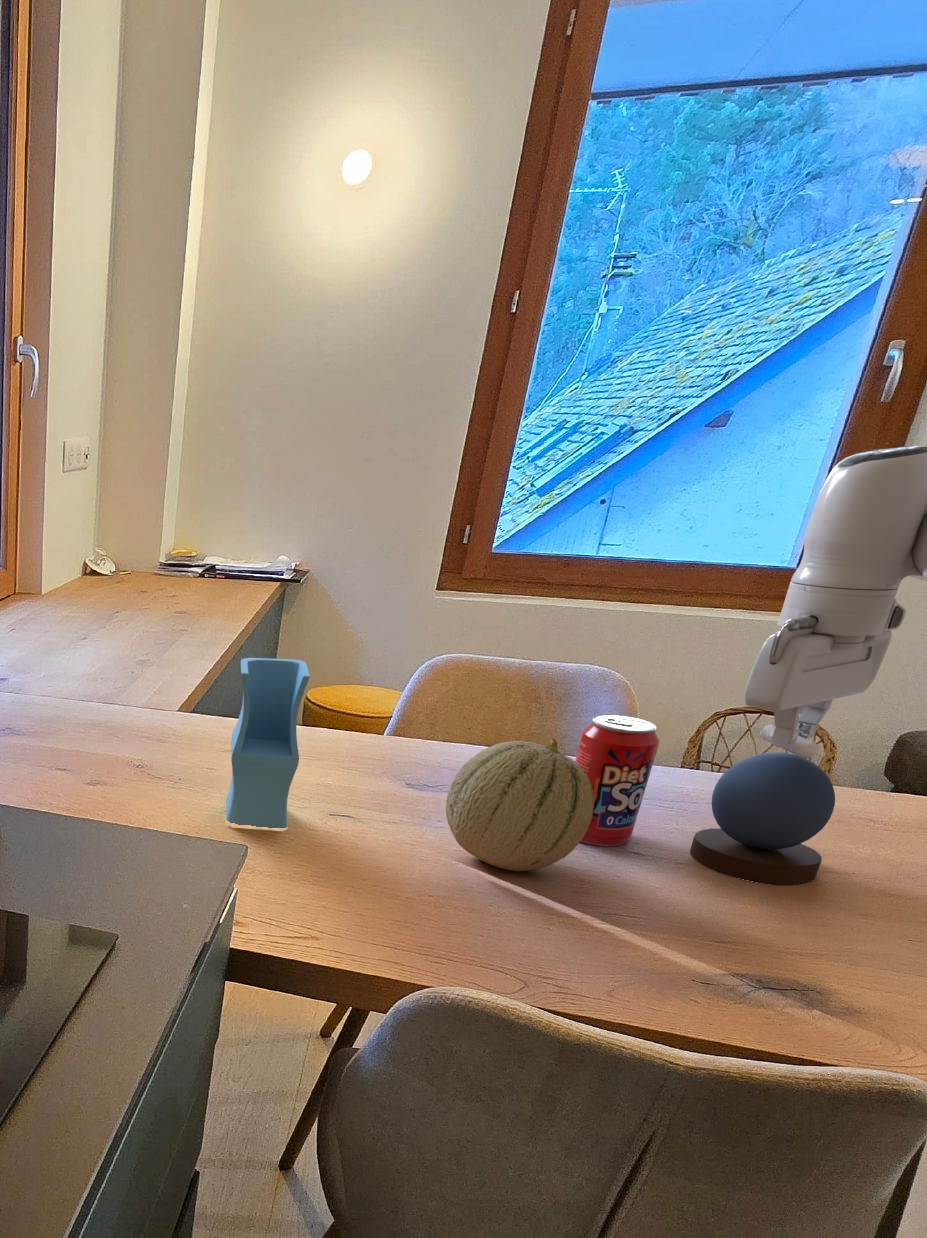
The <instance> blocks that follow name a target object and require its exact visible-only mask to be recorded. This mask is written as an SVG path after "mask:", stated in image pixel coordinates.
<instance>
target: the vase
mask: <svg viewBox="0 0 927 1238" xmlns="http://www.w3.org/2000/svg"><path fill="white" fill-rule="evenodd" d="M240 675H241V683H242V703H241V707H240V712H239V716H238V719H237V721H236V723H235V726H234V728H233V731H232V732H231V738H230V748H231V749H230V750H231V751H230V752H231V753H230V754H231V755H230V759H231V779H230V785H229V789H228V793H227V796H226V798H225V801H226V820H227V821H229V822H230V823H235V824H238V825H251V826H256V827H268V828H286V827H287V826H288V827H289V825H288V824H289V823H288V799H289V793H290V788H291V785H292V782H293V779H294V777H295V774H296V771H297V769H298V767H299V761H300V755H299V754H300V753H299V746H298V737H297V725H298V724H297V722H298V715H299V708H300V706H301V702H302V698H303V695H304V693H305V690H306V689H307V686H308V683H309V680H310V677H311V675H310V673H309V668H308V665H307V663H306V661H304V660H300V659H290V658H267V657H244V658H242V659H240Z"/></svg>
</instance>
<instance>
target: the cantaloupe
mask: <svg viewBox="0 0 927 1238" xmlns="http://www.w3.org/2000/svg"><path fill="white" fill-rule="evenodd" d="M445 802H446V804H445V815H446V822H447V824H448V826H449V829H450V831H451V833H452V836H453V838H454V839H455V841H456V843H457V844H458V846H460V847H461V848H462V849H463V850H465V851H466V852H467V853H469V854H470V855H472V856H473V857H475V858H476V859H478V860H480V861H482V862H484V863H485V864H488V865H490V866H493V867H496V868H498V869H502V870H506V871H509V872H526V871H532V870H537V869H543V868H545V867H549V866H551V865H554V864H555V863H556V864H557V862H559V861H561V860H563V859H565V858H566V857H567V856H568V855H570V854H571V853H572V852H573V851H574V850H575V848H576V847H577V846H578V845H579V844H580V843H581V842H580V841H581V840H582V839H583V836H584V834H585V833H586V831H587V830H588V826H589V824H590V822H591V819H592V816H593V809H594V795H593V790H592V786H591V783H590V781H589V779H588V777H587V775H586V773H585V772H584V771H583V769H582V768H581V767H580V766H579V765H578V764H577V763H576V762H575V759H573V758H571V757H569V756H568V755H565V754H564V753H563V752H561V751H559V750H558V742H557V740H556V738H554V737H550V739H549V741H548V744H547V745H543V744H539V743H535V742H532V741H525V740H513V741H505V742H499V743H496V744H494V745H491V746H487V747H486V748H484V749H482V750H481V751H479V752H478V753H476V754H475V755H474V756H473V757H470V758H469V759H468V760H467V762H465V763H464V765H462V766H461V768H460V769H459V771H458V772H457V773H456V775H455V776H454V778H453V780H452V782H451V784H450V787H449V789H448V792H447V796H446V801H445Z"/></svg>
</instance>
